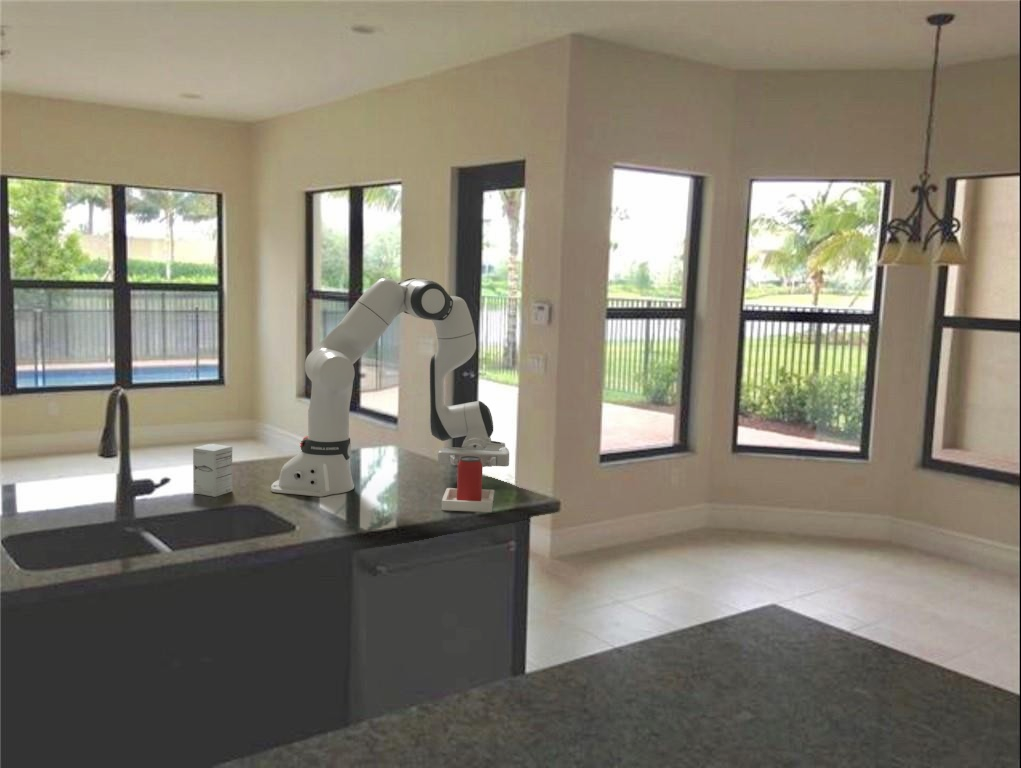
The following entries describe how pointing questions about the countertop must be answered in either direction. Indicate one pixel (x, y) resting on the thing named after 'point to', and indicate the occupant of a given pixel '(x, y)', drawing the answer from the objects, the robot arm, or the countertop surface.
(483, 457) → the robot arm
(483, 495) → the tray
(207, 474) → the supplement box
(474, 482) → the beer can
